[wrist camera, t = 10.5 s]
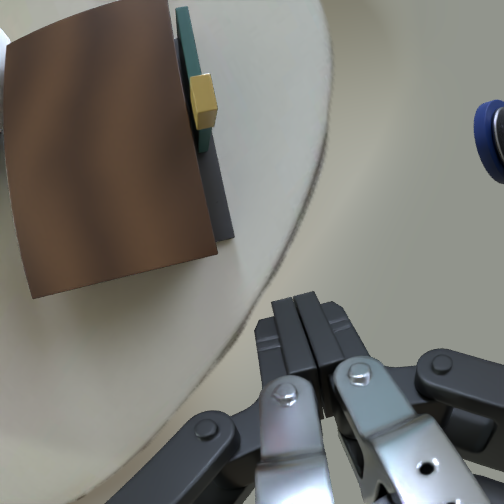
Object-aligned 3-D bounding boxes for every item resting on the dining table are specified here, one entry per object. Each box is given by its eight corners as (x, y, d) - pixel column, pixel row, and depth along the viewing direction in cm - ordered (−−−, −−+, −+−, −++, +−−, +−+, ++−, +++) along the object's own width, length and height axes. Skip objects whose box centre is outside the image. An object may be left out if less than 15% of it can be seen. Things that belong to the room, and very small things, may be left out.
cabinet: (191, 38, 23) (192, -16, 15) (234, 237, 26) (250, 246, 18) (45, 81, 21) (6, 45, 14) (75, 276, 24) (32, 299, 16)
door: (189, 52, 23) (189, -24, 13) (209, 150, 24) (218, 109, 14) (177, 54, 23) (171, -21, 12) (196, 153, 24) (196, 113, 14)
